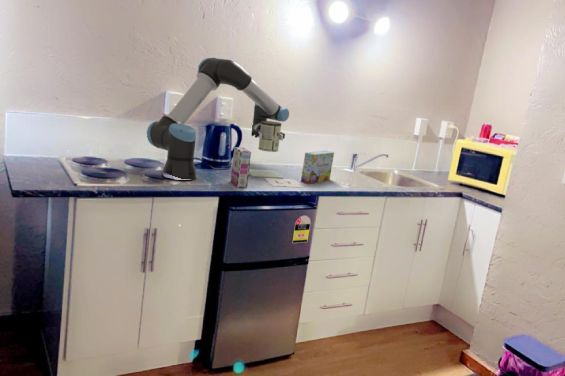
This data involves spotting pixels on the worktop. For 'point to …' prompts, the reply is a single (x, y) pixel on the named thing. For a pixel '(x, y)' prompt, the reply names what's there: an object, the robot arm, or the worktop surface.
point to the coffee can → (269, 136)
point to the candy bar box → (240, 167)
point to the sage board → (264, 173)
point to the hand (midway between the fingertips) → (271, 136)
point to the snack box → (317, 166)
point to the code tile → (284, 182)
